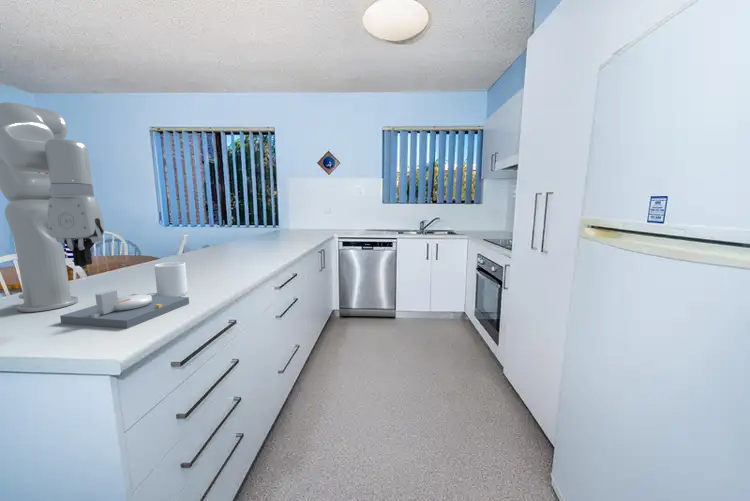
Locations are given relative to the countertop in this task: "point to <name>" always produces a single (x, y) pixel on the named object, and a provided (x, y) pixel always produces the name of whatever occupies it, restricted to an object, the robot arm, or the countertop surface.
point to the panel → (125, 313)
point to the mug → (171, 279)
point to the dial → (120, 301)
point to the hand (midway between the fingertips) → (83, 264)
